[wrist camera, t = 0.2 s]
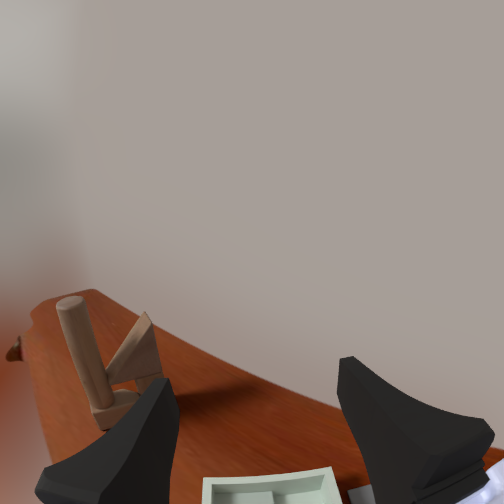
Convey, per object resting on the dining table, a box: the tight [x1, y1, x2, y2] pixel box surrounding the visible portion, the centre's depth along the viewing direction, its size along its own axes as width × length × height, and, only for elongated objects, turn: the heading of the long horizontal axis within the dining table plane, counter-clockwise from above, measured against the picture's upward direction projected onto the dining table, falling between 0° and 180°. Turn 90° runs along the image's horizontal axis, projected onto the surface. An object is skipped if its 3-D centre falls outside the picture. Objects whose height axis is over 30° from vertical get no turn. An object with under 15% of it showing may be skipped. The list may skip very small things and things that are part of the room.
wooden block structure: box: [56, 296, 164, 430], centre depth 32 cm, size 4×11×18 cm, turn 123°
